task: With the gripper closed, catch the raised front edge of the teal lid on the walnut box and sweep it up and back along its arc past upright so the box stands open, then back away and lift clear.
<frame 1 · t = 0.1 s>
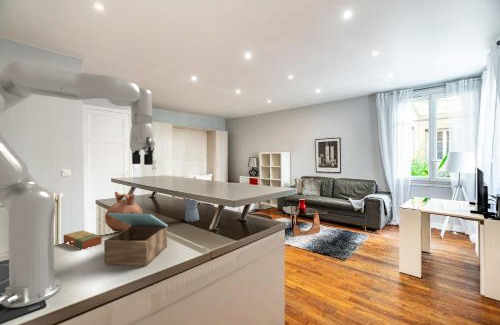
hand: (142, 164, 92), 37 cm above the counter, tool pointing down, fingers open, 9 cm apart
walnut box: (138, 255, 95), on the counter
carton: (82, 244, 106), on the counter
lid: (140, 219, 96), point 14 cm above the counter, hinge at 30.0°
jug: (124, 229, 128), on the counter
moka pot: (192, 220, 146), on the counter
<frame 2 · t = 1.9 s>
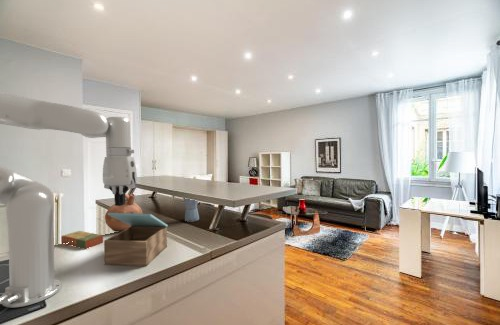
hand: (120, 204, 82), 23 cm above the counter, tool pointing down, fingers closed
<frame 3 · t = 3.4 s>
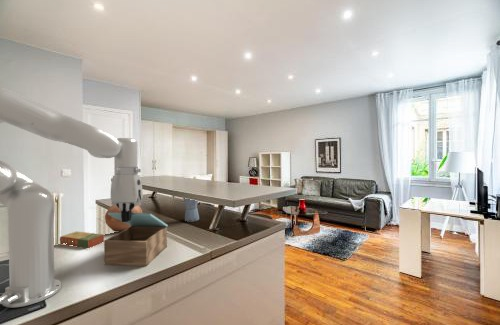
hand: (126, 220, 86), 16 cm above the counter, tool pointing down, fingers closed
lid: (140, 219, 96), point 14 cm above the counter, hinge at 30.5°, touching gripper
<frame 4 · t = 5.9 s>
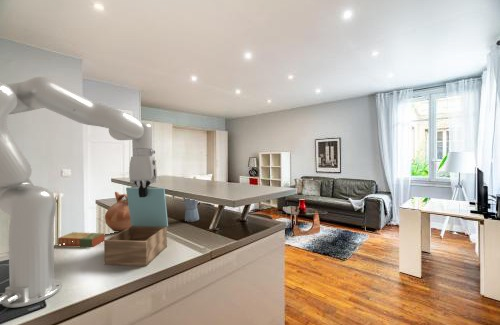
hand: (143, 196, 98), 23 cm above the counter, tool pointing down, fingers closed
lid: (148, 206, 102), point 18 cm above the counter, hinge at 78.0°, touching gripper
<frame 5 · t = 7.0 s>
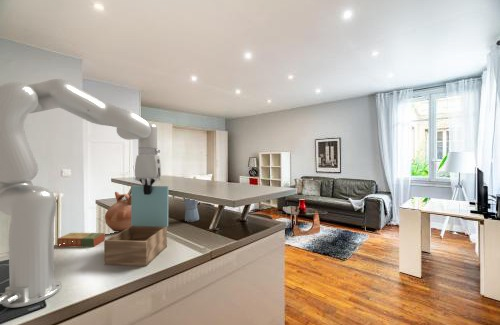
hand: (147, 194, 102), 24 cm above the counter, tool pointing down, fingers closed
lid: (150, 205, 104), point 18 cm above the counter, hinge at 91.3°, touching gripper
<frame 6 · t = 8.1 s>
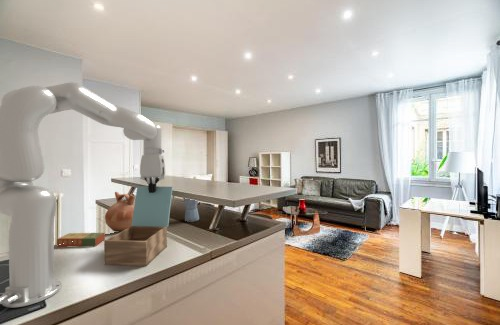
hand: (152, 192, 106), 24 cm above the counter, tool pointing down, fingers closed
lid: (152, 206, 107), point 17 cm above the counter, hinge at 107.4°, touching gripper
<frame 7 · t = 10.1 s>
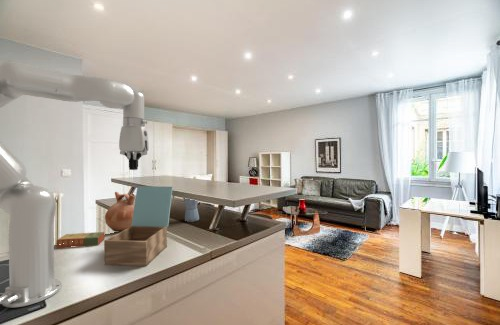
hand: (133, 169, 93), 35 cm above the counter, tool pointing down, fingers closed
lid: (152, 206, 107), point 17 cm above the counter, hinge at 107.5°
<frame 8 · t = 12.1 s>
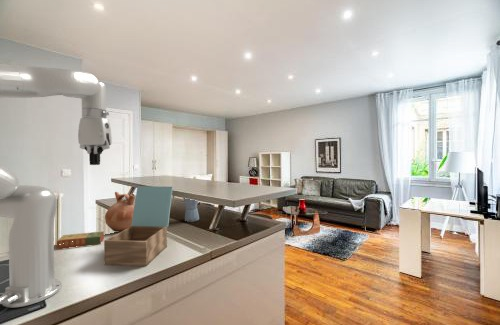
hand: (94, 164, 86), 37 cm above the counter, tool pointing down, fingers closed
at the end: lid at +108° (first picture: +30°); carton moved 0.7 cm from its start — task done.
